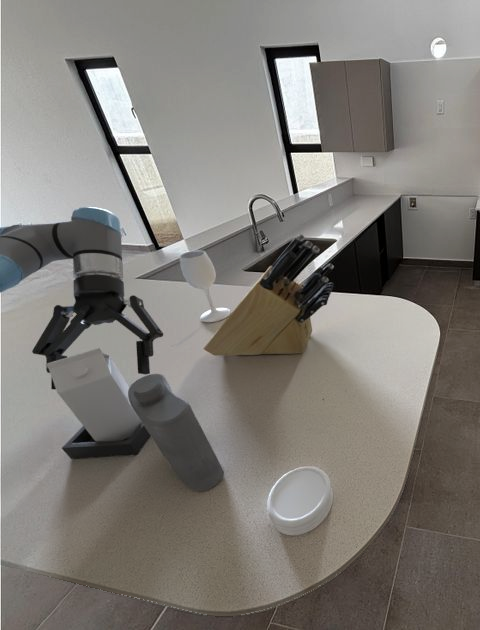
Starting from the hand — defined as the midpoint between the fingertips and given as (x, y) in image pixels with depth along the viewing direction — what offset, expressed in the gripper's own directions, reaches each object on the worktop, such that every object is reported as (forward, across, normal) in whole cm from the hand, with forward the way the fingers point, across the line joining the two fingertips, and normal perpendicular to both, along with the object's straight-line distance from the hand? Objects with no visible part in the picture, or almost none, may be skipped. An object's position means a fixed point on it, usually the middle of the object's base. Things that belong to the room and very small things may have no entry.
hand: (103, 381), depth 65 cm
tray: (+10, 0, -6) cm, 12 cm away
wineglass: (-22, -10, -38) cm, 45 cm away
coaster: (+30, -34, +13) cm, 47 cm away
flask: (+20, -15, +3) cm, 25 cm away
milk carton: (+10, 0, -6) cm, 11 cm away
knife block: (-5, -30, -22) cm, 37 cm away
